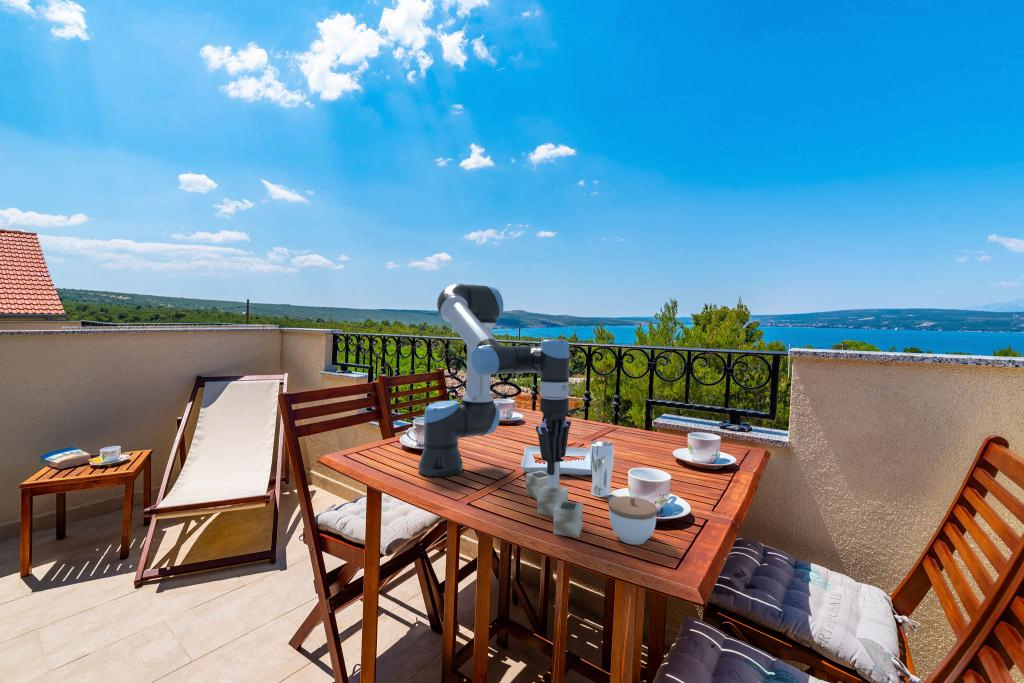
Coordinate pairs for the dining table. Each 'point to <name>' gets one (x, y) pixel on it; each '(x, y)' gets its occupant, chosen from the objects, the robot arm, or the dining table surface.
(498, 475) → the dining table surface
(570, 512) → the marked block
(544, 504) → the plain block
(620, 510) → the lidded jar
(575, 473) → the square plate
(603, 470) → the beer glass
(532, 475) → the marked block
